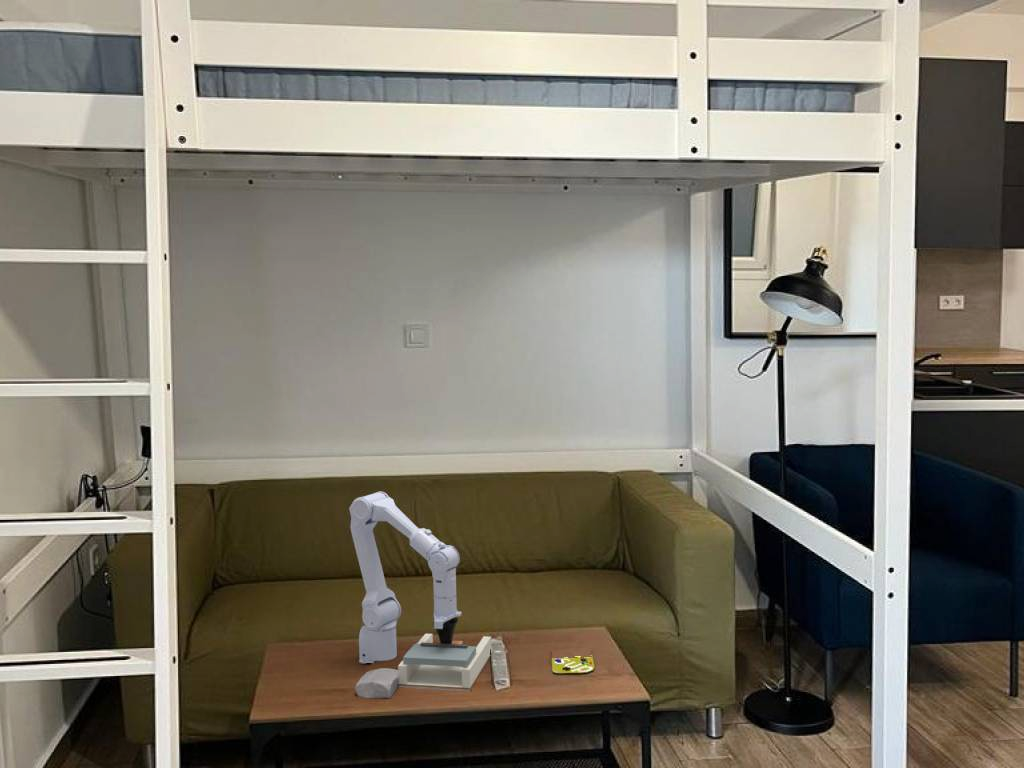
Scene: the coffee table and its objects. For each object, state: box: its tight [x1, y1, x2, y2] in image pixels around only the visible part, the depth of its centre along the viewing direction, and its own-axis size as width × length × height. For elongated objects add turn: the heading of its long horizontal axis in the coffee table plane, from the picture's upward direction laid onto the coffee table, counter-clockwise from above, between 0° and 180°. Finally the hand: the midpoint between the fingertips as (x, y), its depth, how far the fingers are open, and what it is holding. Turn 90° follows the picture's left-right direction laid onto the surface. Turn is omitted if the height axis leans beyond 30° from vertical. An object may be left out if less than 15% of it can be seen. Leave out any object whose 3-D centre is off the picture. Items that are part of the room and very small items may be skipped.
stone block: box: [354, 667, 400, 699], centre depth 246 cm, size 12×5×10 cm
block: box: [452, 640, 464, 644], centre depth 263 cm, size 4×4×4 cm
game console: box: [551, 654, 596, 676], centre depth 262 cm, size 18×11×2 cm, turn 1°
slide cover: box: [402, 642, 477, 667], centre depth 250 cm, size 16×10×2 cm, turn 79°
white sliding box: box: [397, 633, 492, 693], centre depth 256 cm, size 18×24×6 cm
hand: (446, 647), depth 256 cm, fingers closed
